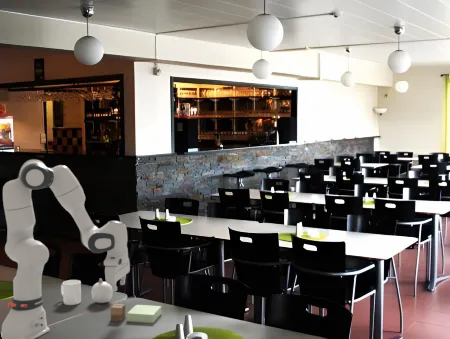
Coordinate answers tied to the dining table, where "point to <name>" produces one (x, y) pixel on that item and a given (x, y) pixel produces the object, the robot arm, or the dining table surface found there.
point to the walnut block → (118, 312)
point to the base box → (144, 313)
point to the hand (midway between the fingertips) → (118, 287)
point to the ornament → (101, 292)
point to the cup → (71, 292)
